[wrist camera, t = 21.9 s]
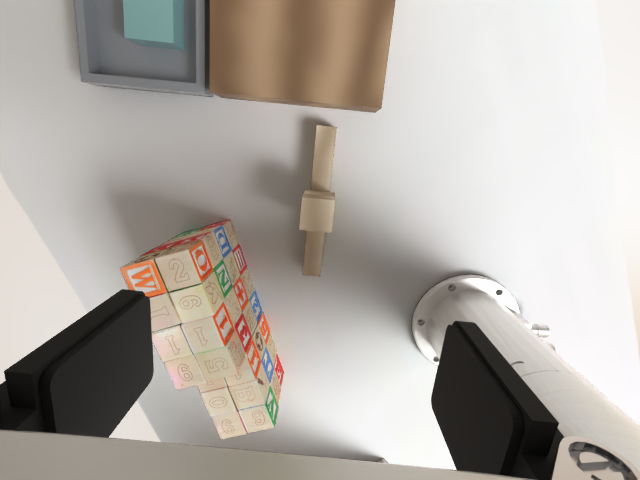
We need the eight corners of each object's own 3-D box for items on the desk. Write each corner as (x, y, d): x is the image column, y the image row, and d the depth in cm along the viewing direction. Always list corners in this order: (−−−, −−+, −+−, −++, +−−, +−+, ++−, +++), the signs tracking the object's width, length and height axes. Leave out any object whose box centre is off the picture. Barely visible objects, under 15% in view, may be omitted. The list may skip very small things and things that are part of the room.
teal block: (122, -20, 30) (137, -7, 32) (124, 37, 31) (139, 45, 33) (172, -14, 30) (184, -2, 32) (173, 43, 31) (184, 50, 33)
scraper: (340, 128, 36) (344, 123, 28) (324, 268, 40) (324, 298, 32) (312, 125, 36) (308, 120, 28) (299, 266, 40) (293, 294, 32)
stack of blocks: (285, 371, 44) (270, 455, 32) (240, 382, 45) (209, 467, 33) (230, 217, 39) (187, 248, 27) (180, 231, 39) (116, 268, 27)
